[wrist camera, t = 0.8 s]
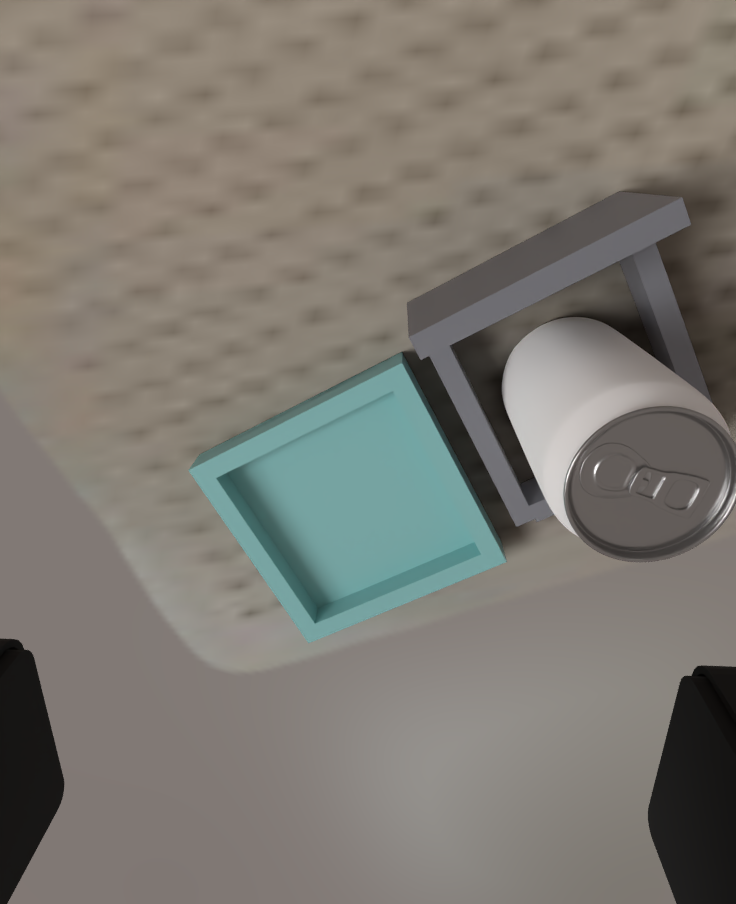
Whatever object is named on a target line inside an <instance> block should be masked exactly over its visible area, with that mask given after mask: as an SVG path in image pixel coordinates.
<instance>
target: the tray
mask: <svg viewBox="0 0 736 904" xmlns="http://www.w3.org/2000/svg"><path fill="white" fill-rule="evenodd" d="M189 472H190V473H191V475H192V476H193V478H194V479H195V480H196V482H197V483H198V485H199V486H200V488H201V489H202V491H203V492H204V493H205V495H206V496H207V498H208V499H209V501H210V502H211V504H212V505H213V506H214V508H215V509H216V511H217V512H218V514H219V515H220V516H221V518H222V519H223V521H224V522H225V524H226V525H227V527H228V528H229V529H230V531H231V532H232V534H233V535H234V537H235V538H236V540H237V541H238V542H239V544H240V545H241V547H242V548H243V550H244V551H245V552H246V554H247V555H248V557H249V558H250V560H251V561H252V563H253V564H254V565H255V567H256V568H257V570H258V571H259V573H260V574H261V575H262V577H263V578H264V580H265V581H266V583H267V584H268V586H269V587H270V588H271V590H272V591H273V593H274V594H275V596H276V597H277V599H278V600H279V601H280V603H281V604H282V606H283V607H284V609H285V610H286V611H287V613H288V614H289V616H290V617H291V619H292V620H293V622H294V623H295V624H296V626H297V627H298V629H299V630H300V632H301V633H302V635H303V636H304V637H305V639H306V640H307V642H308V643H310V642H313V641H315V640H318V639H320V638H322V637H325V636H327V635H330V634H332V633H335V632H337V631H340V630H342V629H344V628H347V627H349V626H352V625H354V624H357V623H359V622H361V621H364V620H366V619H369V618H371V617H374V616H376V615H379V614H381V613H383V612H386V611H388V610H391V609H393V608H396V607H398V606H400V605H403V604H405V603H408V602H410V601H413V600H415V599H417V598H420V597H422V596H425V595H427V594H430V593H432V592H435V591H437V590H439V589H442V588H444V587H447V586H449V585H452V584H454V583H456V582H459V581H461V580H464V579H466V578H469V577H471V576H474V575H476V574H478V573H481V572H483V571H486V570H488V569H491V568H493V567H495V566H498V565H500V564H503V563H505V562H507V561H506V557H505V553H504V550H503V546H502V542H501V540H500V538H499V536H498V534H497V533H496V531H495V529H494V527H493V525H492V523H491V521H490V519H489V517H488V515H487V513H486V512H485V510H484V508H483V506H482V504H481V502H480V500H479V498H478V496H477V494H476V492H475V491H474V489H473V487H472V485H471V483H470V481H469V479H468V477H467V475H466V473H465V472H464V470H463V468H462V466H461V464H460V462H459V460H458V458H457V456H456V454H455V452H454V451H453V449H452V447H451V445H450V443H449V441H448V439H447V437H446V435H445V433H444V431H443V430H442V428H441V426H440V424H439V422H438V420H437V418H436V416H435V414H434V412H433V410H432V409H431V407H430V405H429V403H428V401H427V399H426V397H425V395H424V393H423V391H422V389H421V388H420V386H419V384H418V382H417V380H416V378H415V376H414V374H413V372H412V370H411V368H410V367H409V365H408V363H407V361H406V359H405V357H404V355H403V353H402V352H401V353H399V354H397V355H395V356H393V357H391V358H389V359H387V360H385V361H383V362H381V363H379V364H377V365H375V366H373V367H371V368H369V369H367V370H365V371H363V372H361V373H359V374H357V375H355V376H353V377H351V378H349V379H347V380H345V381H343V382H341V383H339V384H338V385H336V386H334V387H332V388H330V389H328V390H326V391H324V392H322V393H320V394H318V395H316V396H314V397H312V398H310V399H308V400H306V401H304V402H302V403H300V404H298V405H296V406H294V407H292V408H290V409H288V410H286V411H284V412H282V413H280V414H278V415H276V416H274V417H273V418H271V419H269V420H267V421H265V422H263V423H261V424H259V425H257V426H255V427H253V428H251V429H249V430H247V431H245V432H243V433H241V434H239V435H237V436H235V437H233V438H231V439H229V440H227V441H225V442H223V443H221V444H219V445H217V446H215V447H213V448H211V449H209V450H207V451H206V452H204V453H202V454H200V455H199V456H198V458H197V459H196V460H195V462H194V463H193V465H192V466H191V467H190V469H189Z"/></svg>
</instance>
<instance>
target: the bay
mask: <svg viewBox="0 0 736 904" xmlns="http://www.w3.org/2000/svg"><path fill="white" fill-rule="evenodd" d="M690 225H691V222H690V219H689V216H688V213H687V210H686V207H685V204H684V201H683V198H682V197H674V196H663V195H652V194H641V193H630V192H617V193H615V194H613V195H611V196H609V197H608V198H606V199H604V200H602V201H600V202H598V203H596V204H594V205H592V206H590V207H589V208H587V209H585V210H583V211H581V212H579V213H577V214H575V215H573V216H571V217H569V218H568V219H566V220H564V221H562V222H560V223H558V224H556V225H554V226H552V227H550V228H549V229H547V230H545V231H543V232H541V233H539V234H537V235H535V236H533V237H531V238H530V239H528V240H526V241H524V242H522V243H520V244H518V245H516V246H514V247H512V248H510V249H509V250H507V251H505V252H503V253H501V254H499V255H497V256H495V257H493V258H491V259H490V260H488V261H486V262H484V263H482V264H480V265H478V266H476V267H474V268H472V269H470V270H469V271H467V272H465V273H463V274H461V275H459V276H457V277H455V278H453V279H451V280H450V281H448V282H446V283H444V284H442V285H440V286H438V287H436V288H434V289H432V290H431V291H429V292H427V293H425V294H423V295H421V296H419V297H417V298H415V299H413V300H411V301H410V302H408V303H407V312H408V332H409V339H410V341H411V342H412V344H413V346H414V348H415V350H416V352H417V354H418V356H419V358H420V360H422V359H424V358H426V357H428V356H430V358H431V360H432V362H433V364H434V366H435V368H436V370H437V372H438V374H439V376H440V378H441V380H442V382H443V384H444V386H445V388H446V390H447V392H448V394H449V396H450V398H451V400H452V401H453V403H454V405H455V407H456V409H457V411H458V413H459V415H460V417H461V419H462V421H463V423H464V425H465V427H466V429H467V431H468V433H469V435H470V437H471V439H472V441H473V443H474V445H475V447H476V449H477V451H478V453H479V454H480V456H481V458H482V460H483V462H484V464H485V466H486V468H487V470H488V472H489V474H490V476H491V478H492V480H493V482H494V484H495V486H496V488H497V490H498V492H499V494H500V496H501V498H502V500H503V502H504V504H505V506H506V508H507V509H508V511H509V513H510V515H511V517H512V519H513V521H514V523H515V525H516V527H517V526H519V525H522V524H524V523H527V522H529V521H531V520H534V519H535V520H536V522H538V521H540V520H543V519H545V518H548V517H550V516H552V515H554V513H553V512H552V510H551V509H550V507H549V505H548V503H547V501H546V499H545V497H544V495H543V493H542V491H541V489H540V487H539V485H538V482H537V480H536V478H532V479H530V480H528V481H526V482H523V483H521V484H520V482H519V480H518V478H517V476H516V474H515V472H514V470H513V468H512V466H511V464H510V462H509V460H508V458H507V456H506V454H505V452H504V450H503V448H502V446H501V444H500V442H499V440H498V438H497V436H496V434H495V432H494V430H493V428H492V426H491V423H490V421H489V419H488V417H487V415H486V413H485V411H484V409H483V407H482V405H481V403H480V401H479V399H478V397H477V395H476V393H475V391H474V389H473V387H472V385H471V383H470V381H469V379H468V377H467V375H466V373H465V371H464V369H463V367H462V365H461V363H460V361H459V359H458V357H457V355H456V353H455V351H454V348H453V346H452V344H454V343H456V342H458V341H460V340H462V339H464V338H466V337H468V336H470V335H472V334H474V333H476V332H478V331H480V330H482V329H484V328H486V327H488V326H490V325H492V324H494V323H496V322H498V321H500V320H502V319H504V318H506V317H508V316H510V315H512V314H514V313H516V312H518V311H520V310H522V309H524V308H526V307H528V306H530V305H532V304H534V303H536V302H538V301H540V300H542V299H544V298H546V297H548V296H550V295H552V294H554V293H556V292H558V291H560V290H562V289H564V288H566V287H568V286H570V285H572V284H574V283H576V282H578V281H580V280H582V279H584V278H586V277H588V276H590V275H592V274H594V273H596V272H598V271H600V270H602V269H604V268H606V267H608V266H610V265H612V264H614V263H616V262H618V261H619V262H620V265H621V267H622V270H623V272H624V275H625V278H626V280H627V283H628V286H629V288H630V291H631V294H632V296H633V299H634V301H635V304H636V307H637V309H638V312H639V315H640V317H641V320H642V323H643V325H644V328H645V331H646V333H647V336H648V338H649V341H650V344H651V346H652V349H653V352H654V354H655V357H656V360H658V361H659V362H661V363H662V364H663V365H665V366H666V367H667V368H669V369H670V370H671V371H673V372H674V373H675V374H677V375H678V376H679V377H681V378H682V379H683V380H685V381H686V382H687V383H689V384H690V385H691V386H693V387H694V388H695V389H696V390H698V391H699V392H700V393H701V394H703V395H704V396H705V397H706V398H707V399H708V400H709V401H710V402H711V403H712V400H711V397H710V394H709V392H708V389H707V386H706V383H705V380H704V377H703V375H702V372H701V369H700V366H699V363H698V361H697V358H696V355H695V352H694V349H693V346H692V344H691V341H690V338H689V335H688V332H687V330H686V327H685V324H684V321H683V318H682V315H681V313H680V310H679V307H678V304H677V301H676V299H675V296H674V293H673V290H672V287H671V285H670V282H669V279H668V276H667V273H666V270H665V268H664V265H663V262H662V259H661V256H660V254H659V251H658V248H657V245H656V242H658V241H660V240H662V239H664V238H666V237H668V236H670V235H672V234H674V233H676V232H678V231H680V230H682V229H684V228H686V227H688V226H690ZM712 404H713V403H712Z"/></svg>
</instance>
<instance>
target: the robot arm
mask: <svg viewBox="0 0 736 904" xmlns="http://www.w3.org/2000/svg"><path fill="white" fill-rule="evenodd" d="M63 792H64V778H63V774H62V770H61V766H60V762H59V758H58V754H57V750H56V746H55V742H54V737H53V733H52V730H51V725H50V721H49V717H48V713H47V709H46V705H45V701H44V697H43V693H42V689H41V684H40V681H39V676H38V672H37V668H36V664H35V660H34V657H33V654H32V653H31V652H30V651H29V650H24V648H23V645H22V644H21V643H20V642H19V641H18V640H15V639H0V904H7V903H8V901H9V899H10V897H11V896H12V894H13V892H14V890H15V888H16V886H17V884H18V882H19V881H20V879H21V877H22V875H23V873H24V871H25V870H26V868H27V866H28V864H29V862H30V860H31V858H32V856H33V855H34V853H35V851H36V849H37V847H38V845H39V844H40V842H41V840H42V838H43V836H44V834H45V832H46V830H47V829H48V827H49V825H50V823H51V821H52V819H53V817H54V816H55V814H56V812H57V810H58V808H59V806H60V804H61V800H62V797H63ZM648 822H649V828H650V832H651V836H652V839H653V842H654V845H655V847H656V850H657V853H658V855H659V858H660V861H661V863H662V866H663V869H664V871H665V874H666V877H667V879H668V882H669V885H670V887H671V890H672V893H673V895H674V898H675V901H676V903H677V904H736V667H725V666H697V667H696V668H695V669H694V671H693V674H692V676H684V677H683V678H682V679H681V682H680V685H679V689H678V693H677V697H676V701H675V705H674V709H673V713H672V716H671V720H670V725H669V728H668V732H667V736H666V740H665V744H664V748H663V753H662V756H661V760H660V764H659V768H658V772H657V776H656V780H655V784H654V788H653V792H652V796H651V800H650V804H649V808H648Z"/></svg>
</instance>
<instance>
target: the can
mask: <svg viewBox="0 0 736 904" xmlns="http://www.w3.org/2000/svg"><path fill="white" fill-rule="evenodd" d="M502 397H503V402H504V406H505V408H506V411H507V414H508V416H509V419H510V421H511V423H512V426H513V428H514V430H515V433H516V435H517V437H518V439H519V442H520V444H521V446H522V449H523V451H524V453H525V455H526V458H527V460H528V462H529V464H530V467H531V469H532V471H533V473H534V476H535V478H536V480H537V482H538V485H539V487H540V489H541V491H542V493H543V495H544V497H545V499H546V501H547V503H548V505H549V507H550V509H551V510H552V512H553V513H554V515H555V516H556V517H557V519H558V520H559V521H560V522H561V523H562V524H563V525H564V526H565V527H566V528H567V529H568V530H569V531H571V532H572V533H574V534H575V535H577V536H578V537H580V538H581V539H582V540H583V541H584V542H585V543H586V544H587V545H588V546H590V547H591V548H592V549H594V550H596V551H597V552H599V553H601V554H603V555H605V556H608V557H611V558H614V559H618V560H622V561H628V562H653V561H659V560H664V559H668V558H671V557H675V556H677V555H680V554H683V553H685V552H687V551H689V550H691V549H693V548H695V547H696V546H698V545H699V544H701V543H702V542H704V541H705V540H707V539H708V538H709V537H710V536H711V535H713V534H714V533H715V532H716V531H717V530H718V529H719V528H720V527H721V525H722V524H723V523H724V522H725V520H726V519H727V518H728V516H729V515H730V513H731V511H732V510H733V508H734V506H735V504H736V445H735V443H734V441H733V439H732V438H731V435H730V432H729V429H728V426H727V424H726V422H725V420H724V418H723V417H722V415H721V414H720V412H719V411H718V410H717V408H716V407H715V406H714V405H713V404H712V403H711V402H710V401H709V400H708V399H707V398H706V397H705V396H704V395H703V394H701V393H700V392H699V391H698V390H696V389H695V388H694V387H693V386H691V385H690V384H689V383H687V382H686V381H685V380H683V379H682V378H681V377H679V376H678V375H677V374H675V373H674V372H673V371H671V370H670V369H669V368H667V367H666V366H665V365H663V364H662V363H661V362H659V361H658V360H656V359H655V358H654V357H652V356H651V355H650V354H648V353H647V352H646V351H644V350H643V349H641V348H640V347H639V346H637V345H636V344H635V343H633V342H632V341H630V340H629V339H628V338H626V337H625V336H624V335H622V334H621V333H619V332H618V331H616V330H615V329H613V328H612V327H610V326H608V325H607V324H604V323H602V322H600V321H597V320H594V319H590V318H584V317H567V318H561V319H557V320H553V321H550V322H548V323H545V324H543V325H541V326H539V327H538V328H536V329H534V330H533V331H532V332H530V333H529V334H528V335H526V336H525V337H524V338H523V339H522V340H521V341H520V342H519V343H518V344H517V345H516V346H515V348H514V349H513V351H512V352H511V354H510V356H509V358H508V360H507V363H506V366H505V369H504V373H503V379H502Z"/></svg>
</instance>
